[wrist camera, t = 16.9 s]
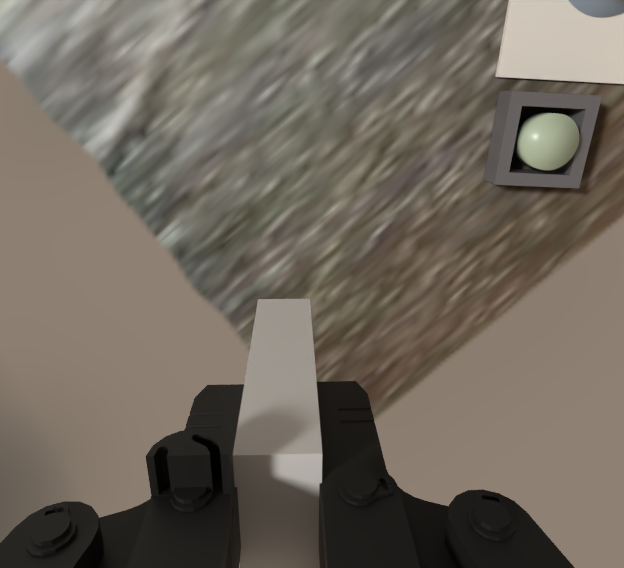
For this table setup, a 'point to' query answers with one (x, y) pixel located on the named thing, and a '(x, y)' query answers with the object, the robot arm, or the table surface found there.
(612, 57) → the paper sheet
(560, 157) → the button
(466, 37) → the table surface
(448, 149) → the table surface
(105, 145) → the table surface
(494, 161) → the button housing
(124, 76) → the table surface
